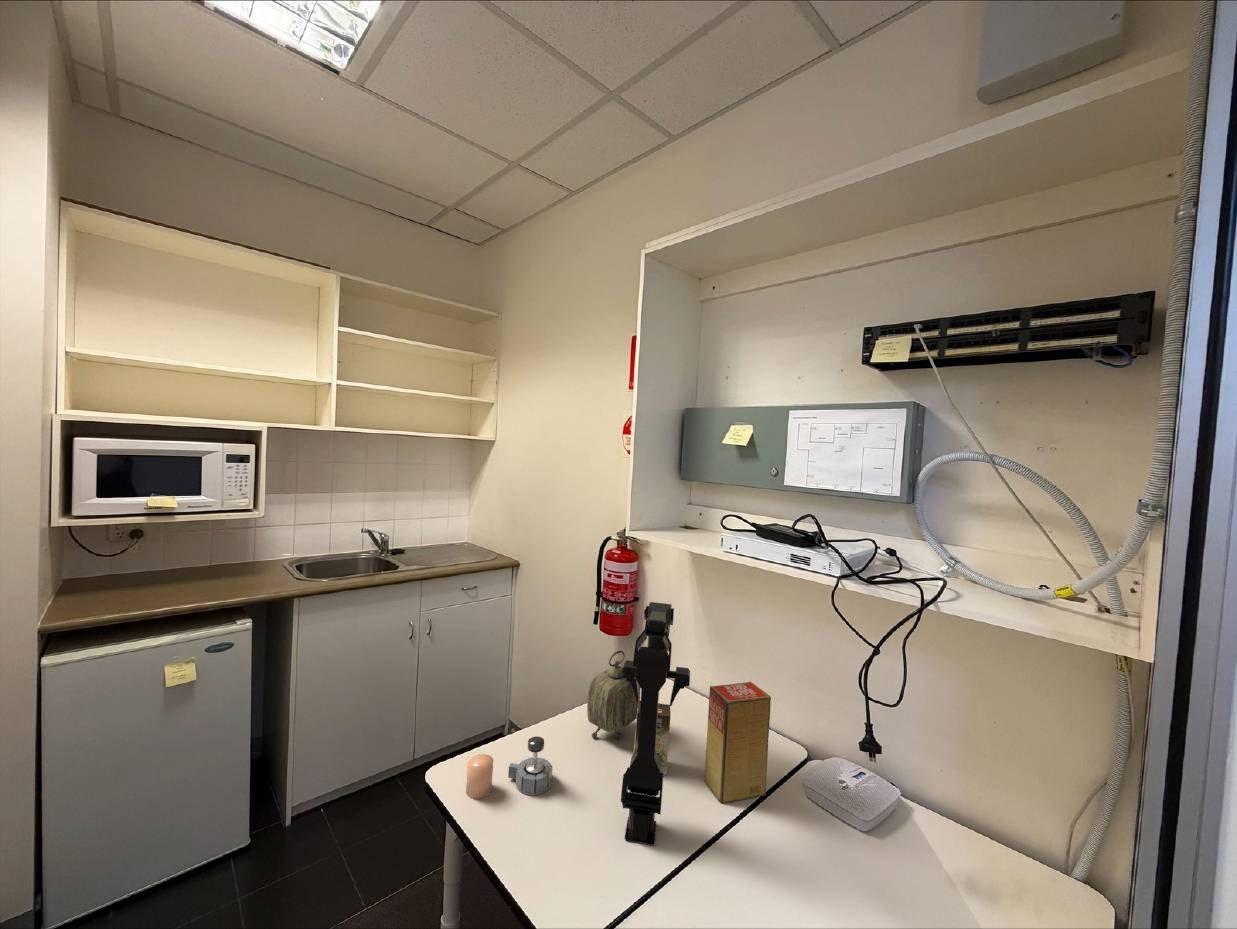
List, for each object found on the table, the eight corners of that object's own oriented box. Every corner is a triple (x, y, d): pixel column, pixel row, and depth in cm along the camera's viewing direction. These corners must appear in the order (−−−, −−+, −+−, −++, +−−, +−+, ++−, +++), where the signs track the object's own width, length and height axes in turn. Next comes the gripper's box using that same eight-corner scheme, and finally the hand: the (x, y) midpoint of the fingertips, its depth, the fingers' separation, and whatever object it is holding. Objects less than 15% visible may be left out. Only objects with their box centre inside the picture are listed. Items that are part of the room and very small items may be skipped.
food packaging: (746, 771, 129) (752, 680, 129) (767, 795, 120) (773, 697, 120) (702, 779, 125) (708, 685, 125) (720, 805, 116) (727, 703, 116)
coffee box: (631, 772, 126) (635, 712, 126) (633, 757, 133) (637, 700, 132) (666, 776, 125) (670, 716, 125) (666, 761, 132) (670, 703, 132)
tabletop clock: (617, 719, 151) (622, 641, 151) (640, 731, 145) (645, 650, 145) (585, 738, 140) (590, 653, 140) (608, 752, 134) (613, 663, 134)
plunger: (540, 775, 117) (541, 747, 117) (523, 772, 118) (524, 745, 118) (545, 764, 122) (547, 737, 122) (529, 761, 122) (530, 735, 122)
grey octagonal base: (545, 798, 115) (546, 782, 115) (502, 790, 117) (503, 775, 117) (555, 774, 124) (556, 760, 124) (515, 767, 125) (516, 753, 125)
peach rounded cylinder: (485, 801, 113) (487, 771, 113) (461, 796, 114) (463, 767, 114) (495, 784, 119) (497, 756, 119) (472, 780, 120) (474, 752, 120)
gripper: (691, 641, 140) (688, 694, 141) (628, 633, 143) (625, 685, 143) (691, 656, 129) (687, 713, 129) (623, 648, 132) (619, 704, 132)
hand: (654, 703), depth 134 cm, fingers open, 9 cm apart
